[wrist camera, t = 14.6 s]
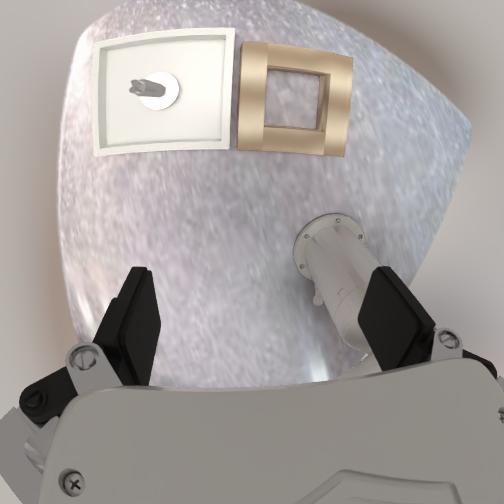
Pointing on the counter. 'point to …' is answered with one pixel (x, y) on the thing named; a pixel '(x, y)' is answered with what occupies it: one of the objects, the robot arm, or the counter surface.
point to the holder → (329, 103)
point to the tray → (184, 106)
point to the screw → (156, 90)
